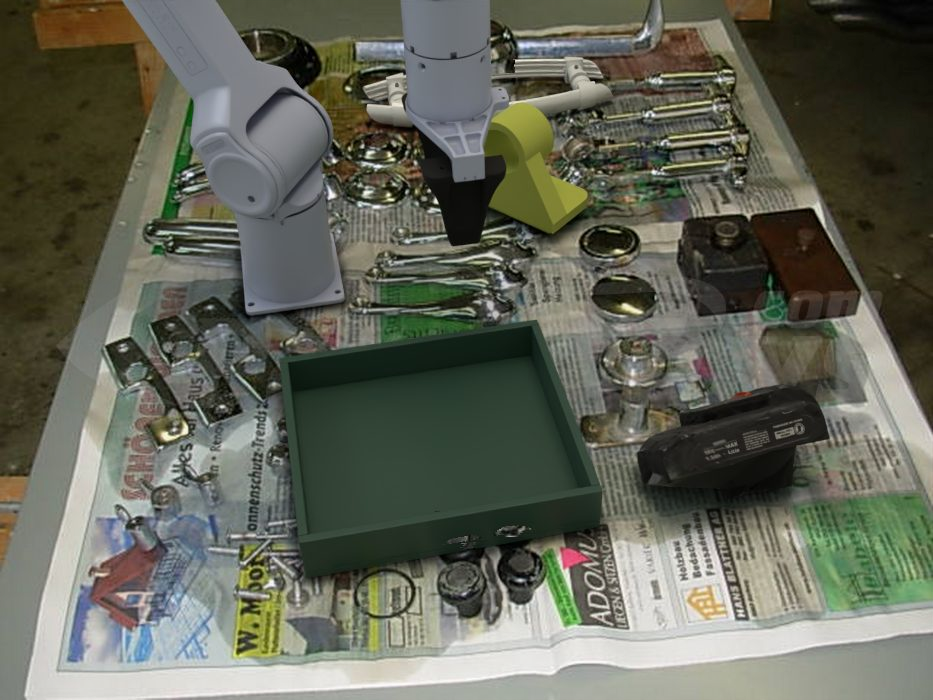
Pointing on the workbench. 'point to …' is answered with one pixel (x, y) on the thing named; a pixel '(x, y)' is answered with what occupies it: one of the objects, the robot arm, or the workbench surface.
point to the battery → (736, 442)
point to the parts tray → (432, 447)
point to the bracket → (530, 171)
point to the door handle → (569, 68)
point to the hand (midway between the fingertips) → (455, 211)
